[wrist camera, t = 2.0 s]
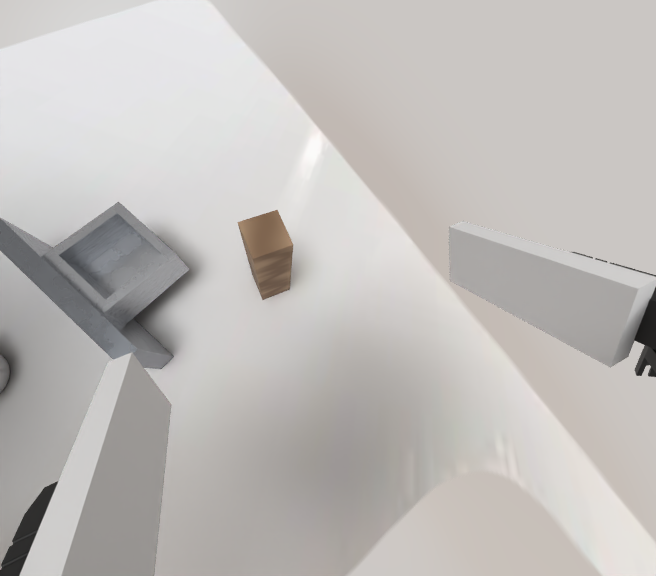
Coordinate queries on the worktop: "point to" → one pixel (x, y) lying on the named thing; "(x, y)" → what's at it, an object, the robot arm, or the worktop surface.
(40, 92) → the worktop surface
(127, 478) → the robot arm
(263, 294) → the post
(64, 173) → the worktop surface
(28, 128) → the worktop surface
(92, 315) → the cup bracket
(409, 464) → the worktop surface
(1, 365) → the cupcake
